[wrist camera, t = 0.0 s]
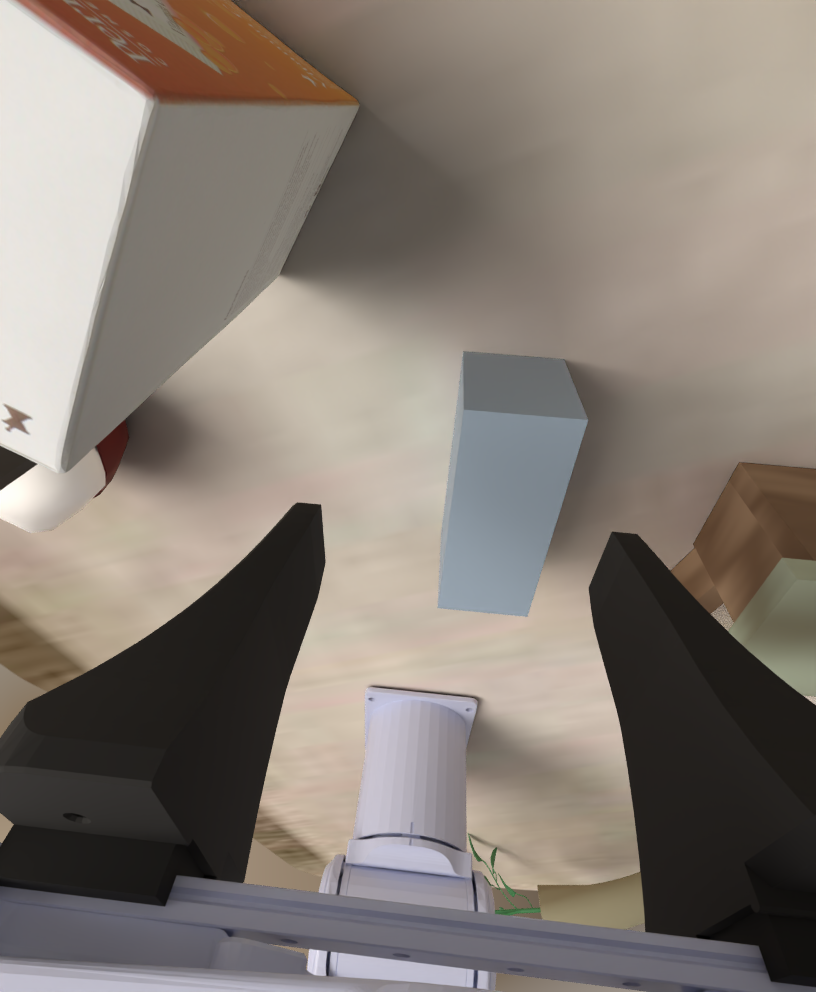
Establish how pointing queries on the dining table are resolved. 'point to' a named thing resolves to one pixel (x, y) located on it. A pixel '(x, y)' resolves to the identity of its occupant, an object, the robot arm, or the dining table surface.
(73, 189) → the small box
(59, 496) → the cocoa
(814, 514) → the awning socket
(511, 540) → the peg
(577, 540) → the dining table surface
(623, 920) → the flower vase
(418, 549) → the dining table surface
